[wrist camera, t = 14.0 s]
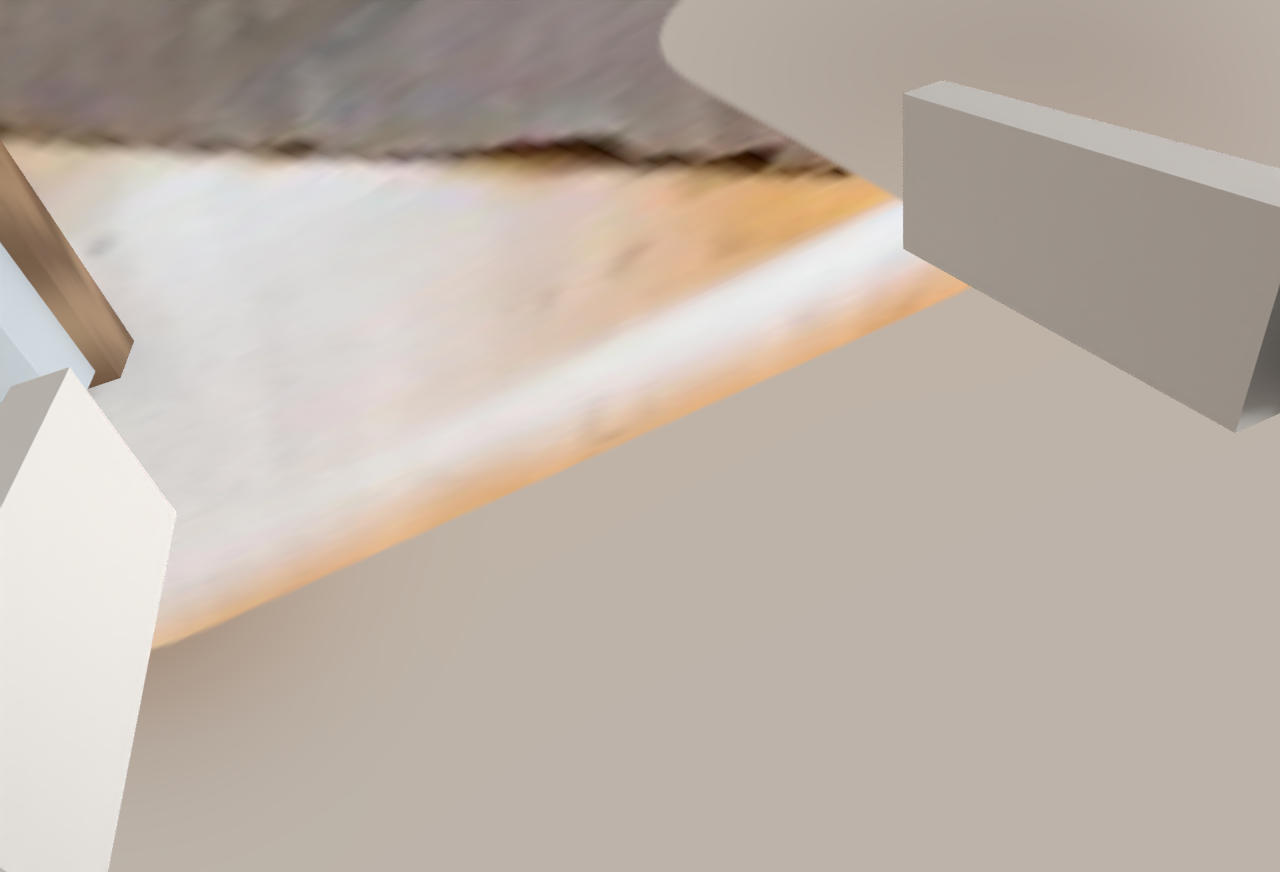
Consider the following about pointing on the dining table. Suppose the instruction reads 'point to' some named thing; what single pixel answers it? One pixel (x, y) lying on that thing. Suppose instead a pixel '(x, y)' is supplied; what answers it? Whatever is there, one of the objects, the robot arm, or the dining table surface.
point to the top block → (31, 334)
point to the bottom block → (59, 275)
